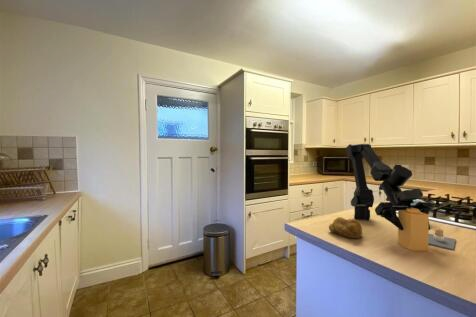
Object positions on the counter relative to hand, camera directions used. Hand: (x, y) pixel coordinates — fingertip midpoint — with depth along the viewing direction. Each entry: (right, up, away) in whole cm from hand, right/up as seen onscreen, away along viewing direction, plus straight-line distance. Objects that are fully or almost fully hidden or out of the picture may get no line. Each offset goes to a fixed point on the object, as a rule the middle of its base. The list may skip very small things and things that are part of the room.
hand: (415, 229), depth 75 cm
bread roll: (-18, -7, +14) cm, 24 cm away
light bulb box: (+23, -6, +30) cm, 39 cm away
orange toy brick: (0, -7, +2) cm, 7 cm away
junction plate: (+13, -6, +5) cm, 15 cm away
